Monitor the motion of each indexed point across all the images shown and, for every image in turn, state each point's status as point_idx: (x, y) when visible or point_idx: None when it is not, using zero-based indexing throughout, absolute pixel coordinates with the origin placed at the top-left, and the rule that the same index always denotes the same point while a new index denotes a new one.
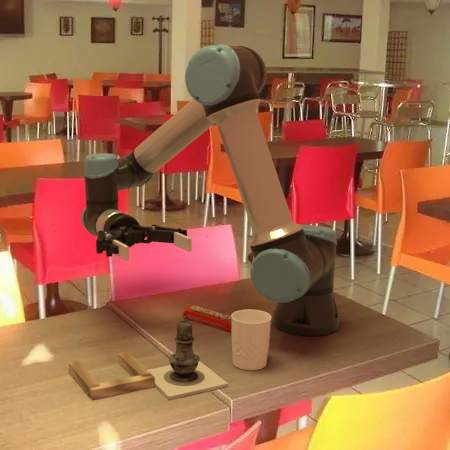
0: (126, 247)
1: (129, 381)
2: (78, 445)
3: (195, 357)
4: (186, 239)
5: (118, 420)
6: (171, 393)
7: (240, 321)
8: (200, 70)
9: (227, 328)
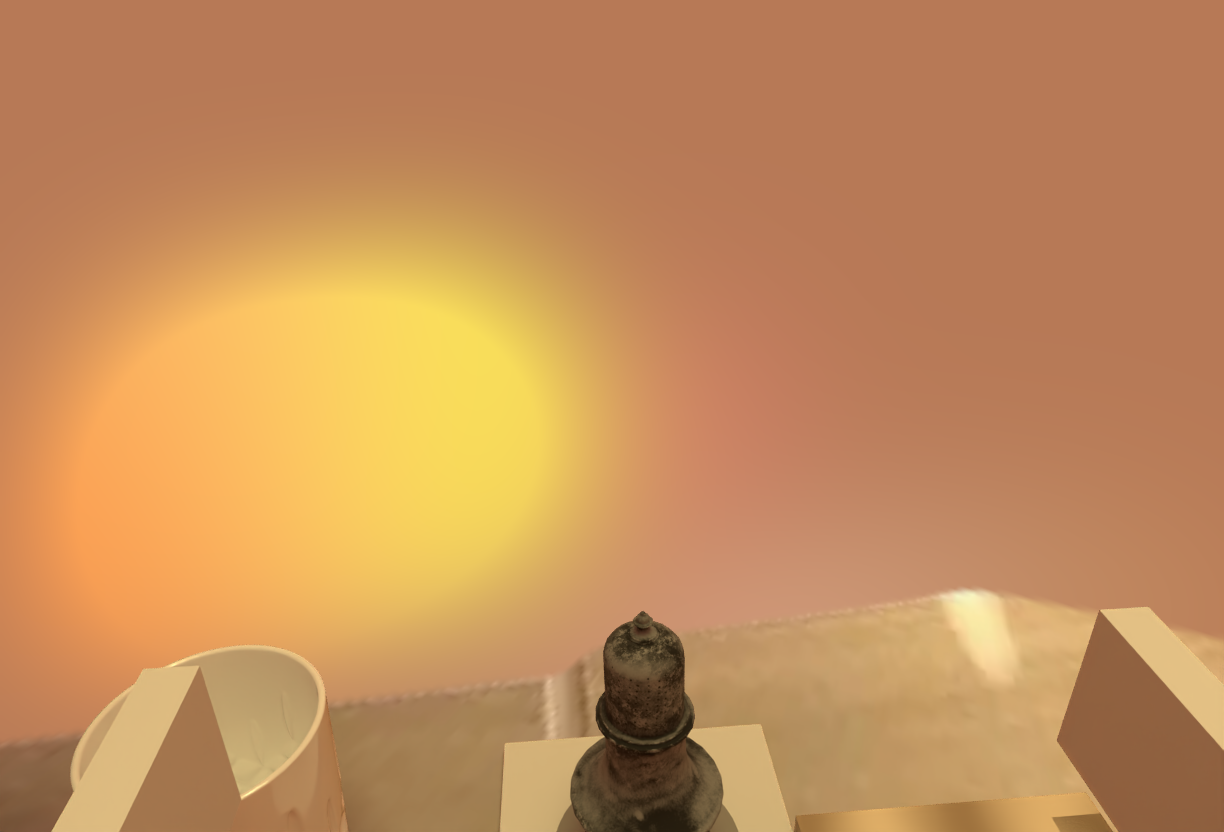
0: (1127, 612)
1: (916, 815)
2: (1062, 606)
3: (601, 753)
4: (186, 722)
5: (951, 675)
6: (744, 740)
7: (320, 680)
8: None
9: None
